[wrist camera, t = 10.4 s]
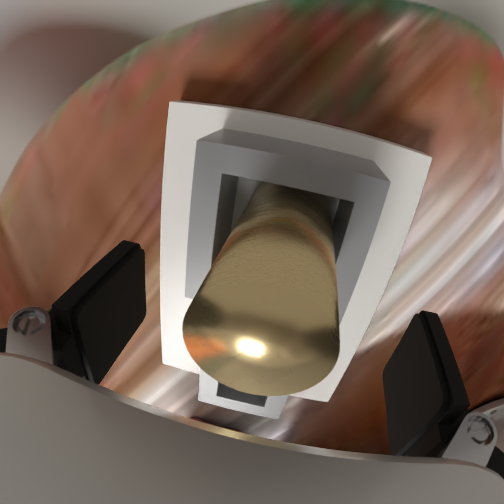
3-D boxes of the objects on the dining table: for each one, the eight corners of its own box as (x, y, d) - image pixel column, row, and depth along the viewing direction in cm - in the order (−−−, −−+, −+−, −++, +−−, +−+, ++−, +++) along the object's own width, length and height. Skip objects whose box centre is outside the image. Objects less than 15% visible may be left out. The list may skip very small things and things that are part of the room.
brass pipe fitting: (339, 184, 16) (363, 302, 7) (319, 258, 18) (313, 406, 10) (255, 166, 16) (184, 262, 8) (243, 241, 19) (182, 375, 10)
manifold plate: (423, 152, 16) (463, 178, 11) (328, 388, 25) (326, 442, 21) (180, 100, 17) (131, 107, 12) (169, 351, 27) (144, 399, 22)
